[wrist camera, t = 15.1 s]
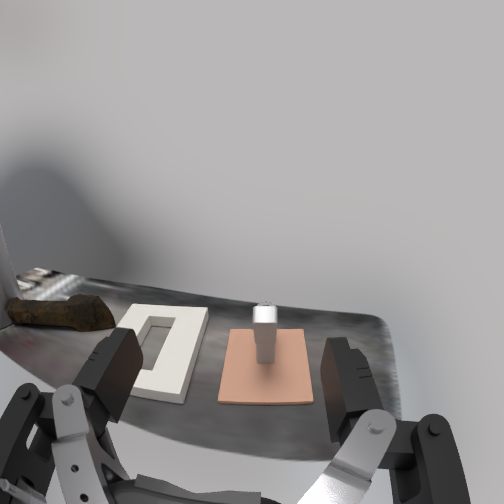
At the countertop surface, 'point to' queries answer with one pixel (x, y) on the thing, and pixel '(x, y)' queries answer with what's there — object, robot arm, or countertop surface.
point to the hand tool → (63, 313)
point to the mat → (266, 371)
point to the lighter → (265, 332)
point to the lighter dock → (168, 348)
